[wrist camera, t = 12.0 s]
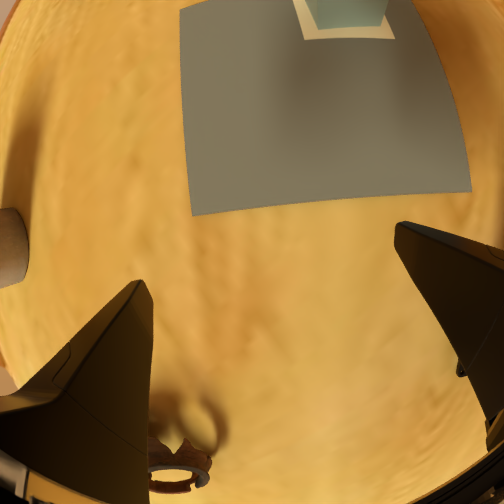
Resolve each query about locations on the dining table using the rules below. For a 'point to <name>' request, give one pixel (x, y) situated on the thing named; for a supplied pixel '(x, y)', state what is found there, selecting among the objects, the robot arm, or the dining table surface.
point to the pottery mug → (177, 466)
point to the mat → (313, 107)
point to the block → (347, 13)
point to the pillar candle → (12, 248)
